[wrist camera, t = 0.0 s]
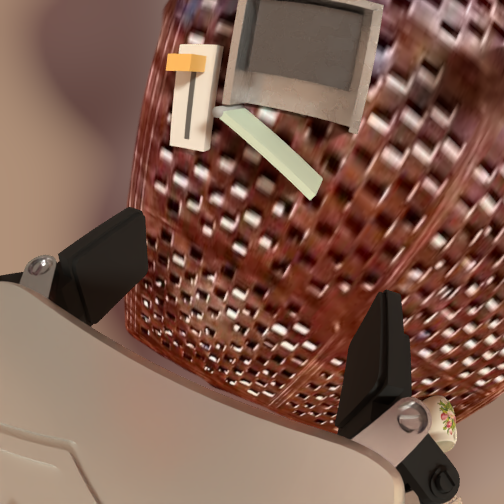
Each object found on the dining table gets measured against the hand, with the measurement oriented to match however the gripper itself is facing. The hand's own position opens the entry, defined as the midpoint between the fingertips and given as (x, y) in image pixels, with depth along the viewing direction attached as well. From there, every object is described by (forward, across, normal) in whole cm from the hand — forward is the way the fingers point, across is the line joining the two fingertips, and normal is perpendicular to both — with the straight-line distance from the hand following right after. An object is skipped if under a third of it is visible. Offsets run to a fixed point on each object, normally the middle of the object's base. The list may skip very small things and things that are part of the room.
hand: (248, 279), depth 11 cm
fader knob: (+29, +20, -8) cm, 36 cm away
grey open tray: (+31, +5, -11) cm, 33 cm away
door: (+31, +7, +2) cm, 32 cm away
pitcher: (+31, -44, +46) cm, 71 cm away
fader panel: (+31, +20, -3) cm, 37 cm away
